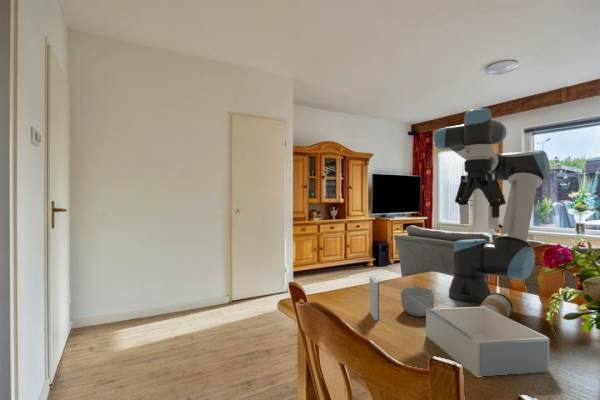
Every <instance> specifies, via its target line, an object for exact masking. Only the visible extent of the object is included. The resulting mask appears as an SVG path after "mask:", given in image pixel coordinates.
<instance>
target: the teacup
mask: <svg viewBox="0 0 600 400" xmlns="http://www.w3.org/2000/svg"><path fill="white" fill-rule="evenodd" d="M434 294H435V292H434V291H433V290H432V289H429V288H427V287H419V286H413V285H412V286H411V285H409V286H407V287H405V288H402V289H400V297H401V299H400V300H401V301H400V302H401V307H402V309H403V310H404V311H405V312H406V313H407V314H408V315H409V316H413V317H426V309H425V308H424V307H422V306H421V305H420V304H418V303H417V302H415V301H414V300H413V299H411V298H410V297H408V295H409V296H411V297H413V298H414V299H416V300H417V301H419V302H420V303H422V304H423V305H425V306H426V307H428V308H429V309H434V308H435V305H434V303H435V302H434V300H435V299H434V297H435V296H434Z"/></svg>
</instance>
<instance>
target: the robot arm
mask: <svg viewBox="0 0 600 400" xmlns="http://www.w3.org/2000/svg"><path fill="white" fill-rule="evenodd" d="M492 118H493V117H492V110H490V109H489V108H476V109H474V108H473V109H470V110H468V111H466V112H465V114H464V119H463V124H460V125H455V126H454V125H453V126H446V127H443V128H438V129H437V130H436V131H434V136H433V141H434V145H435V146H436V148H438V149H442V150H443V149H444V150H446V149H450V150H451V151H453V152H454V153H456V154H457V155H458V156H460V157H461V158H463V159H464V160H465V161H464V167H463V168H464V172H465V173H467V175H461V176H460V183H459V186H458V190H457V193H456V196H455V200H454V203H455V204H458V205H459V224H460V225H469V224H470V216H469V215H470V213H469V212H470V210H469V209H470V208H469V207H470V205H469V201H470V199H471V197H472V195H473V194H474V191H476V190H478V189H479V190H480V191H482V193H483V195H484V196H485V198H486V201H487V202H488V203H489V204H488V207H487V208H488V209H487V211H488V214H487V215H488V216H487V217H488V219H487V220H488V221H487V222H488V230H491V229H492V230H493V229H494V230H495V229H499V227H500V226H499V218H500V207H501V206H503V205H506V206H505V212H504V217H503V219H502V220H503V222H502V225H501V230H500V234H499V235H498V236H496V237H494V241H493V243H488V241H487V239H483V238H474V239H473V238H469V239H459V240H456V241H454V243H453V252H452V253H453V277H452V279H451V283H450V286H449V288H448V296H449V297H450V298H452V299H455V300H458V301H462V302H465V303H473V304H476V303H478V304H482V302H483V301H484V300H485V298H486V297H487V296H488V295H490V294H492V293H491V290H490V287H489V283H488V280H487V275H491V276H497V277H503V278H508V279H511V280H513V279H515V280H526V279H527V278H528V277H529V276H530V275H531V273H532V272H533V270H534V267H535V263H536V260H535V259H536V252H535V250H534V248H532V246H531V245H532V244H531V243H530V241H528V235H529V231H530V225H531V222H532V221H531V219H532V215H533V209H534V204H535V199H536V193H537V188H539V187H541V186H542V184H543V182H544V180H548V179H550V176H551V169H550V160H549V157H548V155H547V153H546V152H545V150H539V149H538V150H533V149H532V150H529V151H528V150H527V151H515V152H504V153H503V152H502V153H495V152H492V145H497V144H500V143H502V142H503V141H504V139H505V138H506V136H507V133H508V132H507V127H506V126H505V125H504V124H503V123H502V122H500V121H498V120H494V119H492ZM499 181H508V183H509V184H510V188H509V193H508V197H507V201H506V200H505V197H504V194H503V191H502V189H501V187H500V183H499Z"/></svg>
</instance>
